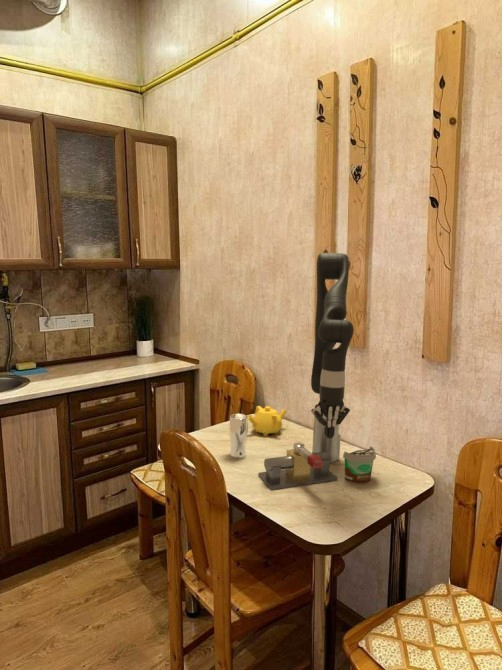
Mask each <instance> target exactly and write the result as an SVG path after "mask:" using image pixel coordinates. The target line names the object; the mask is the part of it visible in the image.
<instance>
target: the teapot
mask: <svg viewBox="0 0 502 670" xmlns="http://www.w3.org/2000/svg"><path fill="white" fill-rule="evenodd" d="M286 414H287V410H286V409H283V408H282V410H281V412H280V413H279V412H278V411H277V410H276V409H275V408H272V407H271V406H267V405H266V406H264V408H263V407H262V406H260V405H256V408H255V412H254V416H253V415H252V414H248V415H247V416H248V422H250V423H251V426H252V428H253V430H255V432H256V433H260V434H262V436H264V437H268V436H269V434H274V435H278V434H279V431H280V430H281V429H282V428H283V419H284V417H285V415H286Z"/></svg>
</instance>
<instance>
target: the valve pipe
mask: <svg viewBox="0 0 502 670" xmlns="http://www.w3.org/2000/svg"><path fill="white" fill-rule="evenodd" d="M311 453H312V452H311ZM312 454H313V455H315V454H316V455H317V456H318V457H320V458H321V459H322V467H321V468H312V467H311V466H310V465H309V464H308V463H307V462H308V461H307V460H305V459H304V458H303V457H302V456H301V455H300V454H296V453H294V452H293V449H286V456H277V457H276V456H275V457H270V458H269V457H268V458H265V459H264V462H263V466H264V469H265V471H260V472H258V473H257V475H258V477H259V478H260V480H262V482H263V483H264V484H265V485H266V486H267V488H268V489H269V490H270V491H275V490H282V489H288V488H295V487H301V486H303V487H304V486H308V485H315V484H320V483H328V482H334V481H338V477H337V476H336V475H335V474H334V473H332V472H331V471H330V463H331V460H332V458H331V454H330V452H329V451H324V452H316V453H312Z"/></svg>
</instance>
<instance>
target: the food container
mask: <svg viewBox="0 0 502 670" xmlns="http://www.w3.org/2000/svg"><path fill="white" fill-rule="evenodd" d="M342 455H343V456H342V458H343V459H344V479H345V481H348V482H350V483H354V484H366V483H369V482H370V481H371V478H372V472H373V466H374V460H376V458H377V454H376V450H375V448H374V447H372V446H370V447H369V448H368V449H359V450H355V451H352V452H347V451H344V453H343V454H342Z"/></svg>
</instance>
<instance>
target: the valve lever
mask: <svg viewBox="0 0 502 670" xmlns="http://www.w3.org/2000/svg"><path fill="white" fill-rule="evenodd" d="M293 452H294V453H296V454H300V455H301V456H302V457H303V458H304V459H305V460H307V461H308V462H307V463H308V464H309V465H310V466H311V467H312V468H321V467H322V459H321V458H320V457H318V456H317V455H316V454H315V455H313V454H312V452H311V451H310V450H309V449H307V448H306V447H305V444H304V443H302V442H295V443H293Z"/></svg>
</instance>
